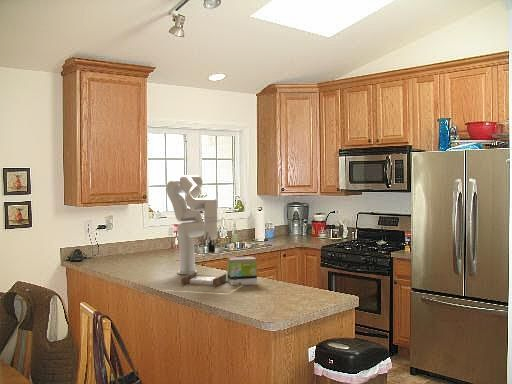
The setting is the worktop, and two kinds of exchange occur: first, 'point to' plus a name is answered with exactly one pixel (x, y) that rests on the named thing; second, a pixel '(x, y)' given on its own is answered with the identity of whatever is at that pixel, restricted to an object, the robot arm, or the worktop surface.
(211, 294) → the worktop surface
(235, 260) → the tea box
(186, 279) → the walnut case
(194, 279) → the cover plate
